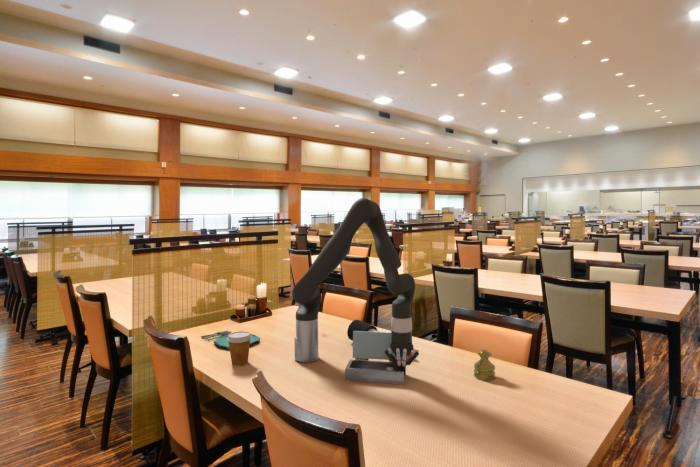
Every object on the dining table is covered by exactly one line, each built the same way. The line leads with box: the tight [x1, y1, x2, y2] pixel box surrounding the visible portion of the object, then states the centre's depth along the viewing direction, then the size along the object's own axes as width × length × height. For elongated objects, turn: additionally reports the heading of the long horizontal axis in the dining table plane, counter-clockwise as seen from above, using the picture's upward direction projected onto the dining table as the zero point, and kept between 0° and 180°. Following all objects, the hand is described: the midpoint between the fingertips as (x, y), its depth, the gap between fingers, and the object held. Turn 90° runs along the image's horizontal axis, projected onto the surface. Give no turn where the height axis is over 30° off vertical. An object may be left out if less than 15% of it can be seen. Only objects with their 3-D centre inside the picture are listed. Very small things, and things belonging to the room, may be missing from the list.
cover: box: [352, 331, 403, 362], centre depth 152 cm, size 20×11×2 cm
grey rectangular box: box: [344, 359, 405, 385], centre depth 147 cm, size 21×9×4 cm, turn 80°
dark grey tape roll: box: [383, 366, 397, 371], centre depth 146 cm, size 5×5×4 cm
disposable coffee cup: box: [227, 330, 251, 367], centre depth 162 cm, size 10×10×12 cm
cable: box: [346, 319, 413, 357], centre depth 176 cm, size 10×34×10 cm, turn 42°
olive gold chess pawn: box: [473, 349, 496, 381], centre depth 147 cm, size 7×7×10 cm
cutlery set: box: [200, 330, 261, 350], centre depth 191 cm, size 20×30×2 cm, turn 48°
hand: (401, 375), depth 146 cm, fingers closed
